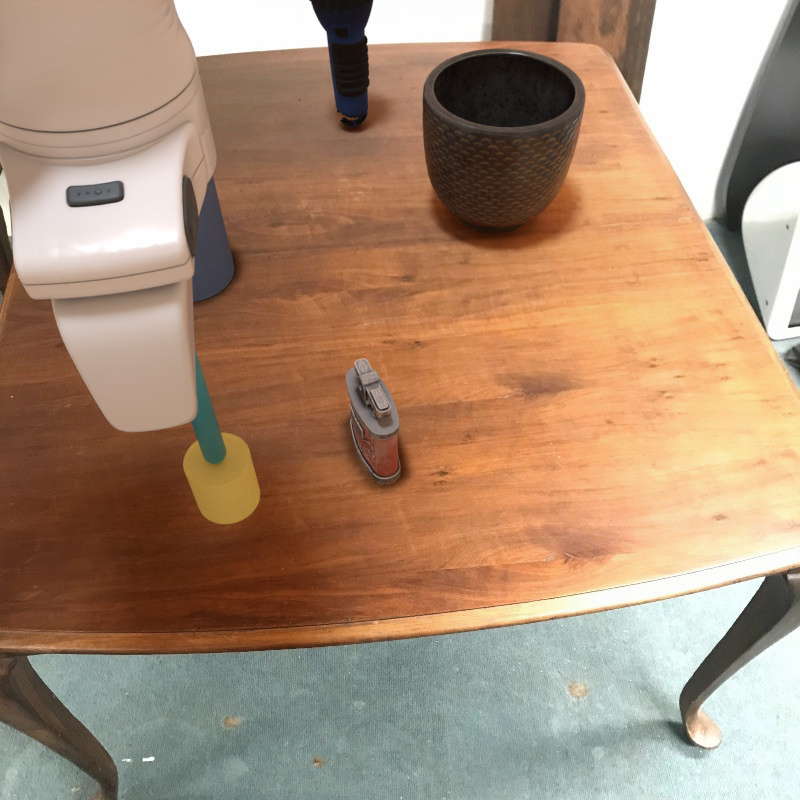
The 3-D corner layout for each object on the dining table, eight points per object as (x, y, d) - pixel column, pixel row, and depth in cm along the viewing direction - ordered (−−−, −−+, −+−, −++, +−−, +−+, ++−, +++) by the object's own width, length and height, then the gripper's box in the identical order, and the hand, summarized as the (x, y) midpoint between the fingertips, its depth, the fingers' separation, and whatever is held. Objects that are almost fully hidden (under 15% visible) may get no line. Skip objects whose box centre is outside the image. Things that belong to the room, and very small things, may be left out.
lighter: (343, 422, 74) (335, 352, 66) (376, 412, 75) (372, 340, 67) (373, 489, 69) (368, 421, 61) (408, 476, 70) (407, 408, 62)
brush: (198, 529, 56) (116, 329, 40) (197, 477, 59) (119, 270, 43) (262, 518, 56) (206, 316, 40) (257, 467, 59) (203, 259, 43)
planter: (451, 272, 87) (458, 146, 75) (402, 185, 97) (400, 62, 85) (588, 238, 90) (617, 113, 78) (526, 158, 101) (543, 36, 88)
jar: (151, 307, 84) (112, 201, 73) (152, 253, 90) (116, 147, 79) (236, 295, 85) (210, 189, 74) (232, 242, 91) (207, 136, 80)
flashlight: (311, 122, 107) (293, -32, 91) (360, 104, 109) (351, -48, 94) (340, 149, 103) (327, -7, 87) (390, 130, 105) (386, -25, 90)
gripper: (55, 33, 40) (128, 243, 51) (7, 301, 28) (118, 505, 38) (178, 22, 41) (225, 231, 52) (187, 278, 28) (246, 484, 39)
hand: (179, 349), depth 45 cm, fingers closed on brush
